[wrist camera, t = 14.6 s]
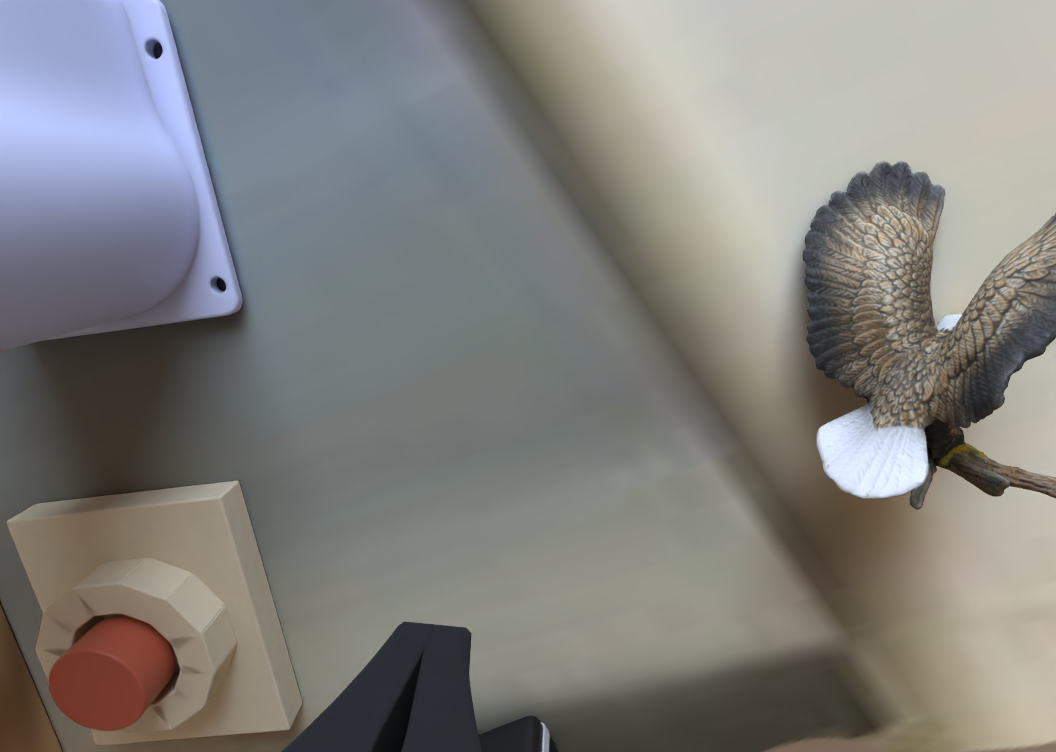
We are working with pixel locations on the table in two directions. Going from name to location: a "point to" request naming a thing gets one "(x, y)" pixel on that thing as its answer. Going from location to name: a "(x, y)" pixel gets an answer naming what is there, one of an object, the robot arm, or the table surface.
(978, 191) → the table surface
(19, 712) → the plate
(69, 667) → the bell button
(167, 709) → the bell block
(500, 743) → the battery charger
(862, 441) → the eagle figurine
